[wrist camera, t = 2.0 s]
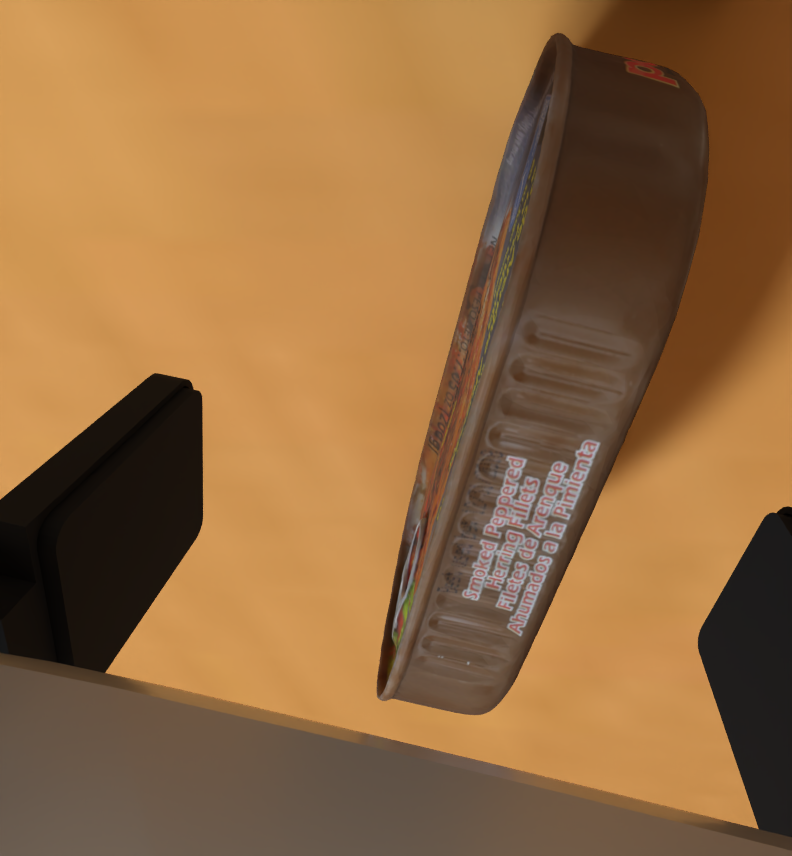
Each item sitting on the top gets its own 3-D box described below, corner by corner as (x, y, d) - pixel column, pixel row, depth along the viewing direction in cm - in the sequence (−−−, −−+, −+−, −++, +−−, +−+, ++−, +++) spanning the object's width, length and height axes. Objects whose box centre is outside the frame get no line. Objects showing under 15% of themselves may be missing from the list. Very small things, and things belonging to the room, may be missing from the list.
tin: (532, 46, 14) (542, -8, 7) (667, 78, 14) (824, 57, 7) (397, 542, 22) (333, 768, 14) (484, 567, 22) (465, 810, 14)
